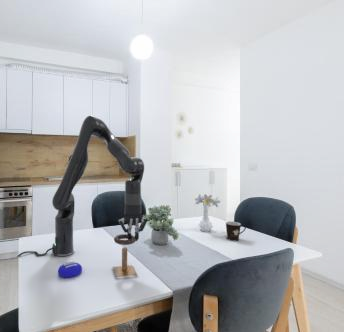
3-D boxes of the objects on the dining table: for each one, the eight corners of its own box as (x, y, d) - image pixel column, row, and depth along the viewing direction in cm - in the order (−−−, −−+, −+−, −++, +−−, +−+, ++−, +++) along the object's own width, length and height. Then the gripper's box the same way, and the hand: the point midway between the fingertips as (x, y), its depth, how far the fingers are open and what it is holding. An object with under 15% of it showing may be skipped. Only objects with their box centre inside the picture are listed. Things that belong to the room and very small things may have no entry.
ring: (116, 246, 103) (116, 241, 103) (112, 238, 112) (112, 234, 112) (138, 244, 105) (138, 239, 105) (132, 237, 114) (132, 232, 114)
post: (116, 279, 104) (116, 253, 103) (113, 269, 113) (112, 245, 112) (136, 277, 106) (137, 251, 105) (131, 267, 114) (131, 244, 114)
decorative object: (78, 254, 113) (84, 266, 104) (79, 265, 114) (84, 278, 105) (55, 259, 109) (59, 271, 100) (56, 270, 110) (59, 284, 101)
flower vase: (222, 230, 171) (222, 194, 169) (204, 234, 161) (205, 197, 159) (206, 225, 181) (207, 192, 180) (189, 229, 171) (190, 194, 170)
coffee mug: (225, 240, 150) (225, 224, 150) (225, 236, 158) (225, 220, 158) (246, 243, 146) (247, 226, 145) (245, 238, 154) (245, 222, 153)
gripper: (145, 200, 113) (145, 236, 114) (116, 201, 111) (116, 239, 111) (150, 203, 106) (150, 242, 107) (119, 205, 103) (119, 245, 104)
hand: (133, 240), depth 109 cm, fingers closed on ring, 2 cm apart
